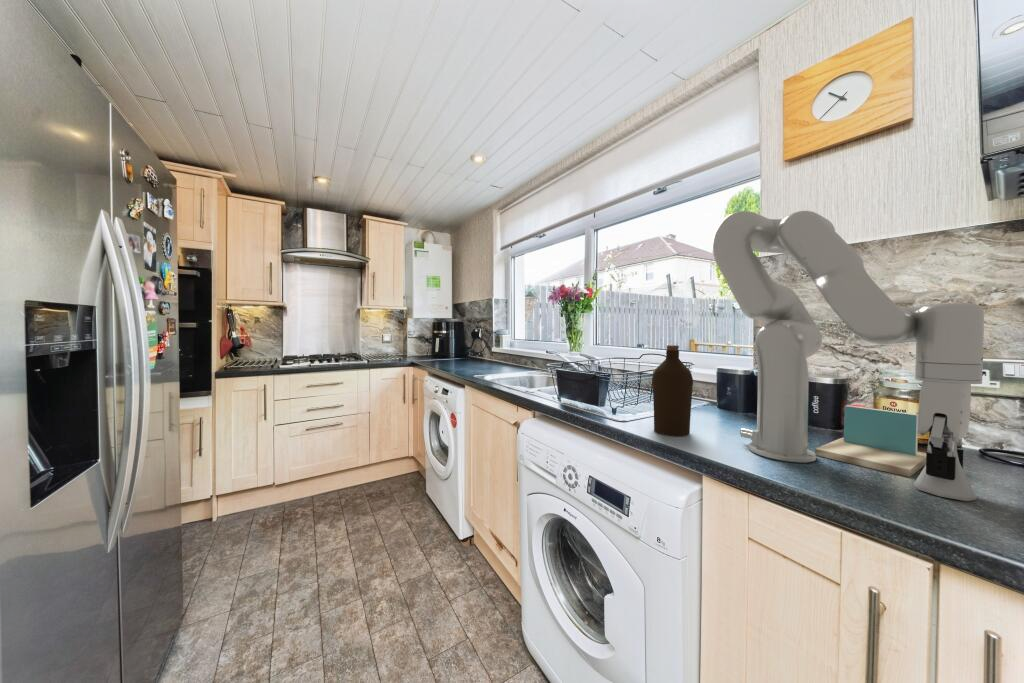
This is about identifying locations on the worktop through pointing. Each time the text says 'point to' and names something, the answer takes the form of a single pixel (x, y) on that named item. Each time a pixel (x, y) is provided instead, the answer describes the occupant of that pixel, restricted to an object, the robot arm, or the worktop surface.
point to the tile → (881, 429)
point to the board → (873, 457)
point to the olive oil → (672, 395)
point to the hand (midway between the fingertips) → (944, 472)
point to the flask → (947, 483)
